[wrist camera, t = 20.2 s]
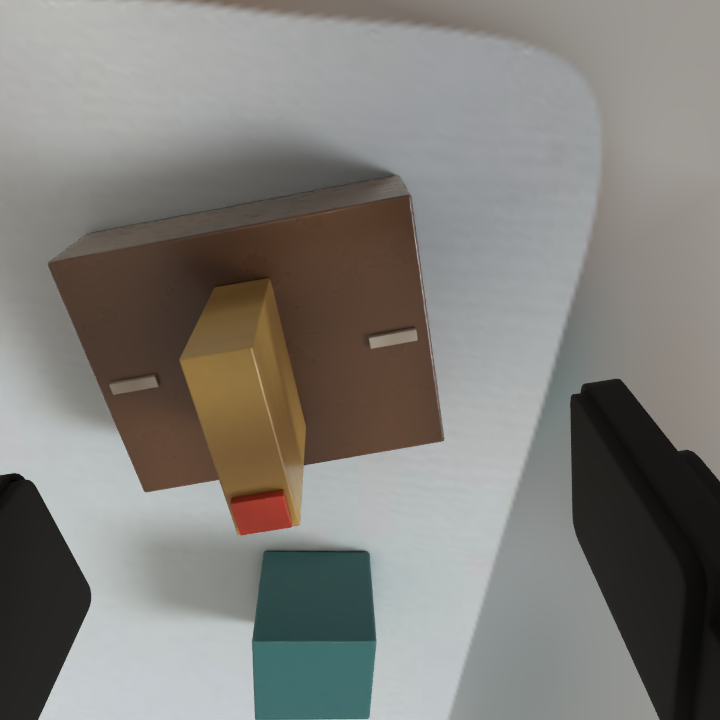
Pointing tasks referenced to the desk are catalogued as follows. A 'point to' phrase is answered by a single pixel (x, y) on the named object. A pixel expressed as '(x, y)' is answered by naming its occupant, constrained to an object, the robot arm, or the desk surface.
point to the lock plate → (296, 311)
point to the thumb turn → (248, 405)
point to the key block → (314, 636)
